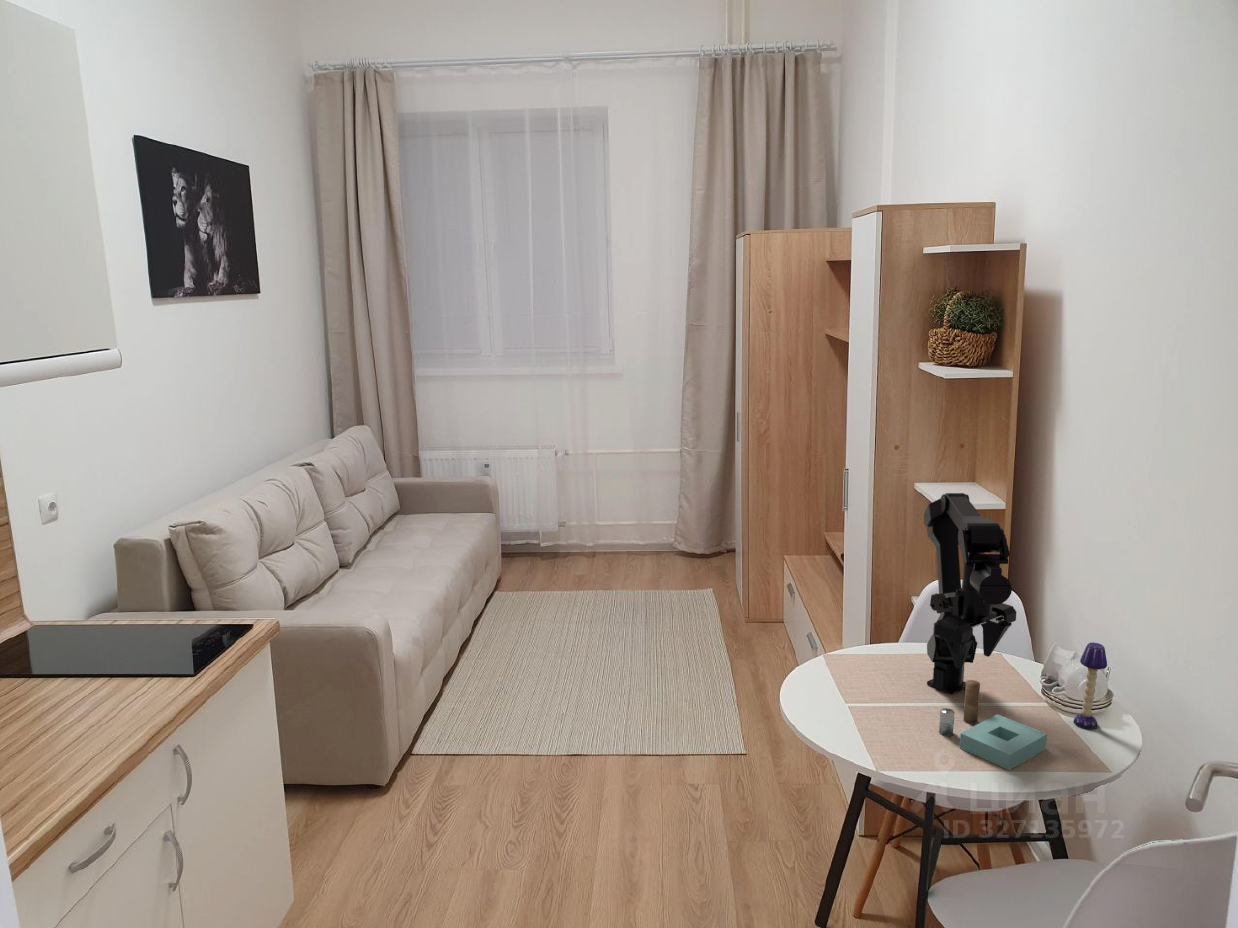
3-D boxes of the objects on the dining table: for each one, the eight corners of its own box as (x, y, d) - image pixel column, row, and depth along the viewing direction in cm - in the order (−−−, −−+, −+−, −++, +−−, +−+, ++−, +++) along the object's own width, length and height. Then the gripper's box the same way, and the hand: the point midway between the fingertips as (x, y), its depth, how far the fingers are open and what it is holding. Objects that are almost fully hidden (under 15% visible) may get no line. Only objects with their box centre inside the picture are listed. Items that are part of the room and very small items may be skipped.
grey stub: (944, 728, 182) (945, 706, 181) (956, 733, 180) (957, 711, 179) (936, 732, 181) (937, 710, 180) (947, 737, 179) (949, 715, 178)
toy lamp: (1099, 721, 184) (1106, 641, 180) (1102, 732, 180) (1110, 650, 176) (1072, 717, 185) (1079, 638, 182) (1075, 728, 181) (1082, 647, 178)
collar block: (996, 728, 182) (997, 714, 181) (1045, 748, 174) (1046, 734, 173) (959, 747, 175) (960, 733, 174) (1009, 769, 167) (1010, 754, 166)
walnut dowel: (968, 716, 187) (970, 678, 185) (980, 720, 185) (982, 683, 183) (960, 719, 185) (963, 682, 184) (972, 724, 183) (974, 686, 182)
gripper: (970, 565, 191) (965, 637, 194) (911, 585, 180) (908, 660, 184) (1020, 579, 182) (1014, 654, 185) (962, 601, 171) (957, 680, 175)
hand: (972, 661), depth 183 cm, fingers open, 9 cm apart
